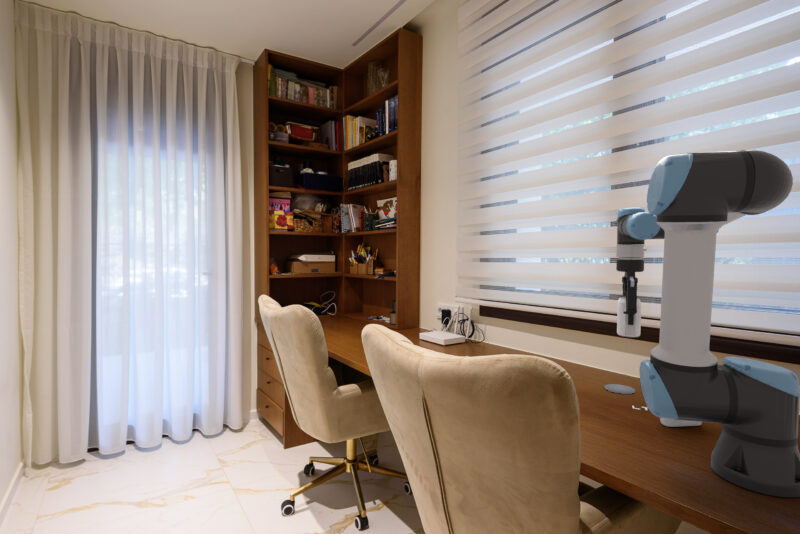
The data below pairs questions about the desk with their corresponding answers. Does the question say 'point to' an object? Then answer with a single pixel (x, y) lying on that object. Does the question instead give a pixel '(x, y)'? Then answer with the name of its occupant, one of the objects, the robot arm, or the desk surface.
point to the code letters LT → (639, 409)
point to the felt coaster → (619, 388)
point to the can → (621, 317)
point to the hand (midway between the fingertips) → (628, 332)
